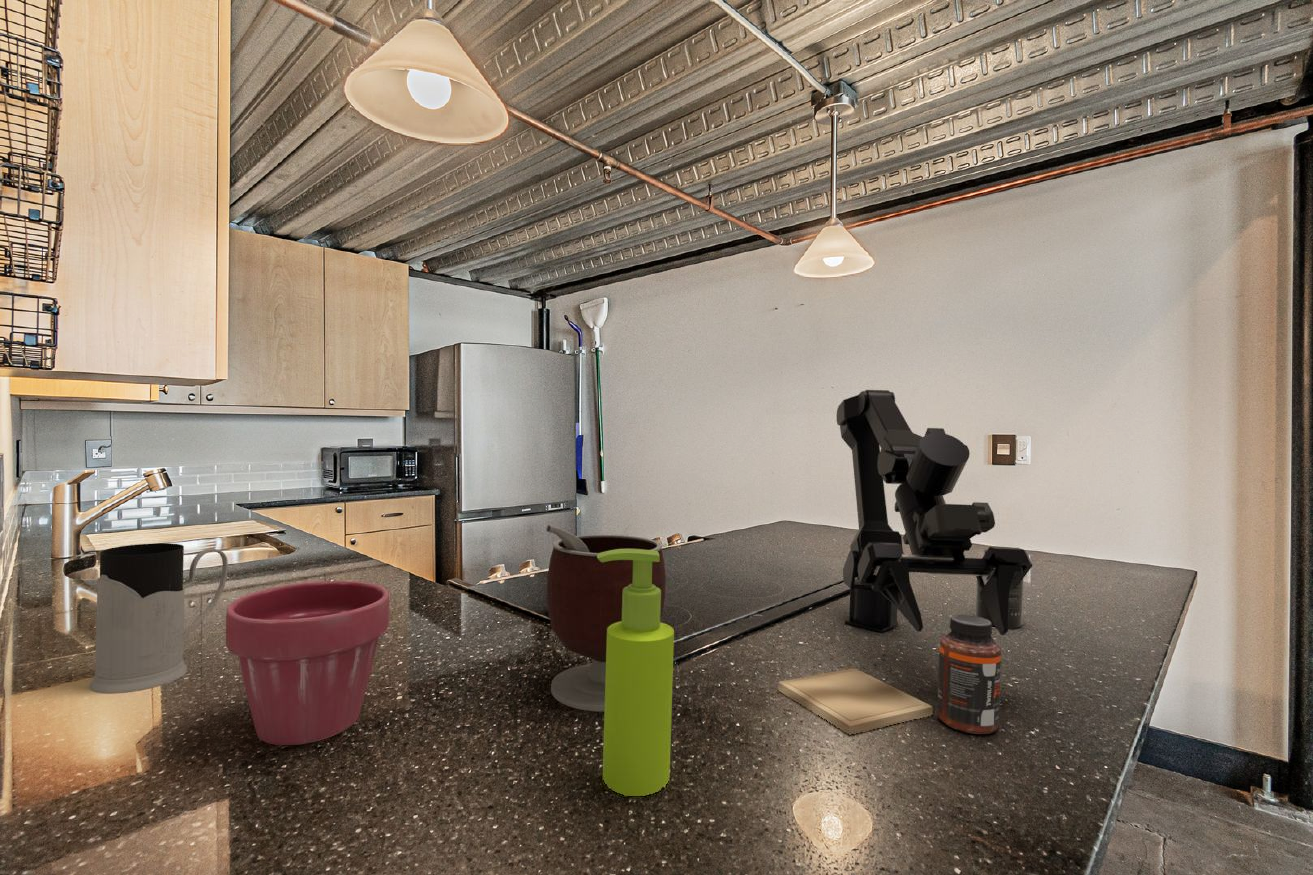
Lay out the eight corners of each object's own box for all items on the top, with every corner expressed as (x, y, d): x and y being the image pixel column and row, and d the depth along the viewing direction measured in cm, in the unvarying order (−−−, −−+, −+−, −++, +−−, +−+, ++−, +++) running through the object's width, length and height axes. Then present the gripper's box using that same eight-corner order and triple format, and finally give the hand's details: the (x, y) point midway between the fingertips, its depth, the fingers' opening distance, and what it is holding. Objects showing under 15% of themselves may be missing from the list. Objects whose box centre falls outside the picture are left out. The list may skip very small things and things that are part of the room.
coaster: (777, 690, 74) (778, 681, 74) (854, 675, 80) (854, 667, 79) (849, 735, 63) (850, 725, 63) (932, 715, 69) (932, 705, 69)
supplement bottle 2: (1022, 621, 106) (1025, 551, 106) (1020, 632, 100) (1023, 557, 100) (977, 614, 110) (980, 546, 110) (973, 623, 104) (976, 552, 104)
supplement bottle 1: (1007, 740, 64) (1011, 630, 63) (944, 733, 65) (948, 624, 65) (988, 714, 69) (991, 613, 69) (931, 708, 71) (934, 609, 70)
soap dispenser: (591, 760, 57) (597, 543, 57) (665, 759, 58) (672, 545, 58) (589, 798, 51) (597, 556, 51) (673, 796, 52) (680, 558, 52)
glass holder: (71, 685, 70) (74, 551, 70) (201, 645, 83) (204, 533, 83) (121, 698, 67) (124, 559, 67) (248, 655, 80) (251, 539, 80)
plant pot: (270, 778, 53) (274, 628, 53) (195, 731, 60) (198, 600, 60) (415, 716, 65) (418, 593, 65) (337, 683, 72) (340, 573, 72)
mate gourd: (610, 657, 83) (615, 508, 83) (686, 690, 73) (692, 521, 73) (508, 688, 72) (513, 517, 72) (582, 732, 62) (587, 534, 62)
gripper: (867, 475, 75) (896, 589, 64) (1026, 480, 74) (1083, 596, 63) (847, 530, 82) (870, 641, 71) (990, 536, 82) (1036, 648, 71)
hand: (962, 631), depth 69 cm, fingers open, 9 cm apart
